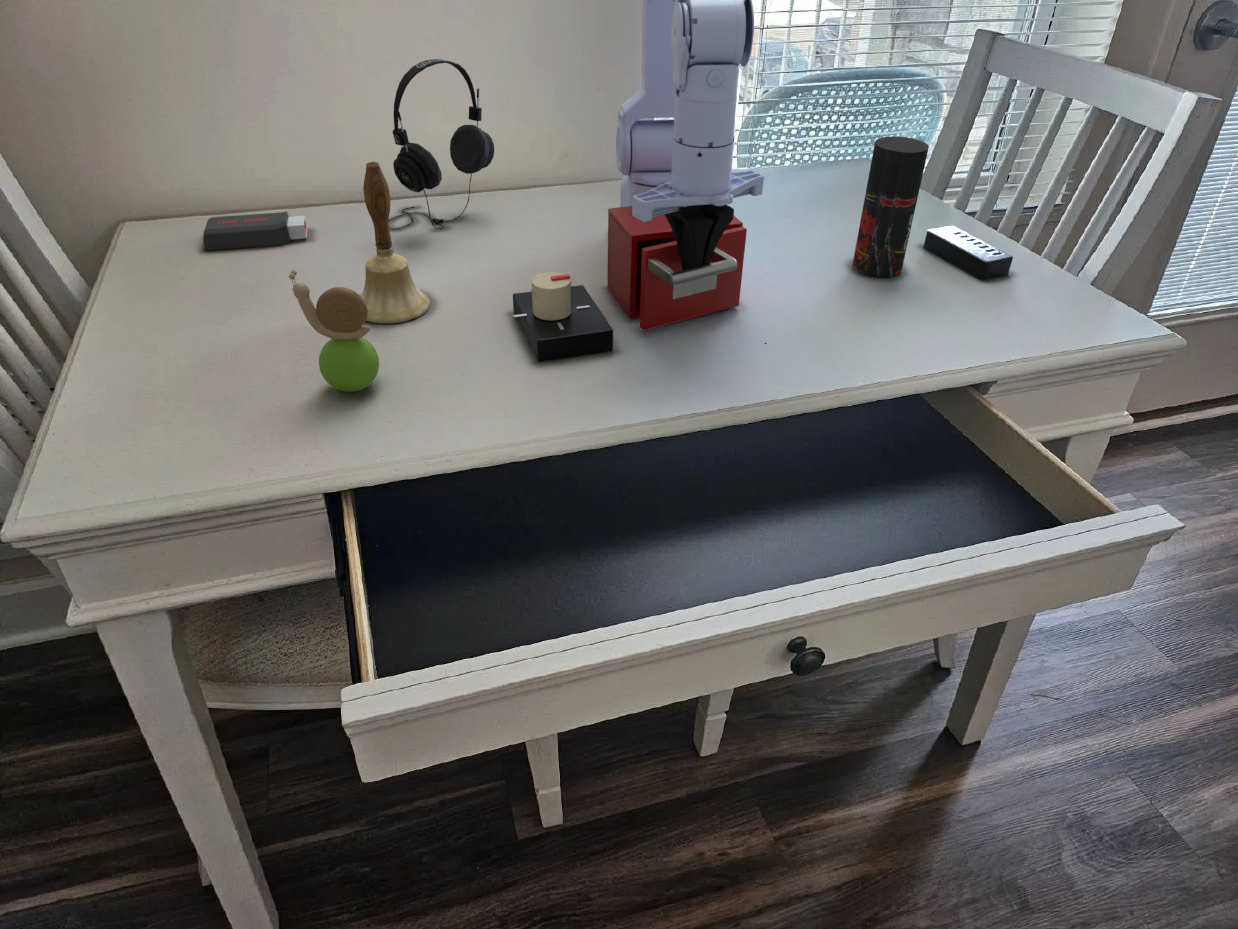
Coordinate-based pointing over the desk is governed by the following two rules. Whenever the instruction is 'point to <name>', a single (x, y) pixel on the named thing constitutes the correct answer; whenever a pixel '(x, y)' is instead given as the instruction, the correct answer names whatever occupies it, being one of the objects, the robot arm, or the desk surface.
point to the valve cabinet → (634, 253)
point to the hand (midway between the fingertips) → (693, 274)
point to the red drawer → (690, 281)
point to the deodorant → (889, 206)
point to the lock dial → (551, 296)
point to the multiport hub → (968, 252)
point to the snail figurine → (341, 336)
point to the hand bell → (387, 262)
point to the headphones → (466, 145)
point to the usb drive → (253, 230)
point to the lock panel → (564, 328)
